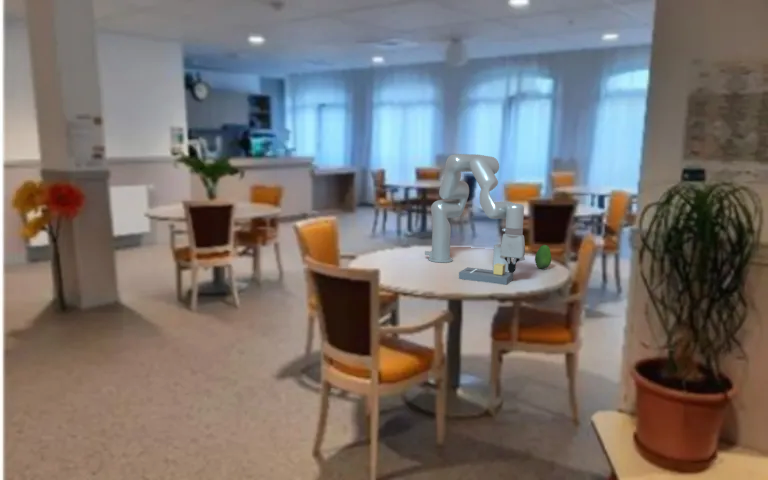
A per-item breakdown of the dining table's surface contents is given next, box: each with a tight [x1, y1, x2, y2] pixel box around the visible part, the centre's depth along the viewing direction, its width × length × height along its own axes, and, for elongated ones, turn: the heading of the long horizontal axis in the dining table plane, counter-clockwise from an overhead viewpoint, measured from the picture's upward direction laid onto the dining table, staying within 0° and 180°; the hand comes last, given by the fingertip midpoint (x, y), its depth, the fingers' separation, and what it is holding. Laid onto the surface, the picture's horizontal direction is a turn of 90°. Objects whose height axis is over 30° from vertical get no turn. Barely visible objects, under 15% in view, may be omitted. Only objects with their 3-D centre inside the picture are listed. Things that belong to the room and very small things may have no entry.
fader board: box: [458, 267, 515, 286], centre depth 265 cm, size 22×12×3 cm, turn 63°
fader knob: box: [494, 263, 506, 275], centre depth 262 cm, size 4×5×4 cm
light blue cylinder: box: [492, 243, 509, 272], centre depth 283 cm, size 8×8×12 cm
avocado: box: [534, 244, 552, 270], centre depth 288 cm, size 8×8×12 cm
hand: (511, 272), depth 259 cm, fingers closed
